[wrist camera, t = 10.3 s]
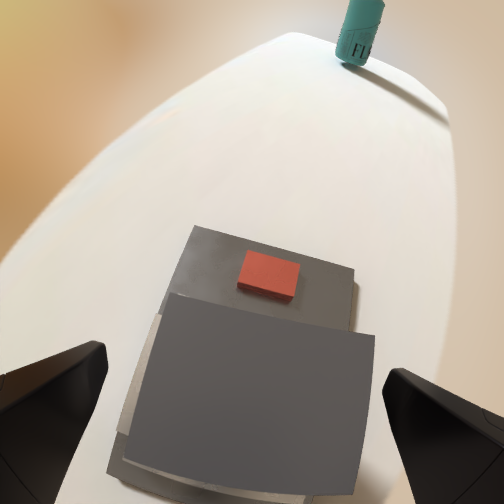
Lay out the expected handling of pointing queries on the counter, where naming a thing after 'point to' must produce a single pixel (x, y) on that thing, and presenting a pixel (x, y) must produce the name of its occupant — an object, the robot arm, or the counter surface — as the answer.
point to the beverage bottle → (359, 30)
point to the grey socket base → (248, 299)
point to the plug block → (253, 401)
